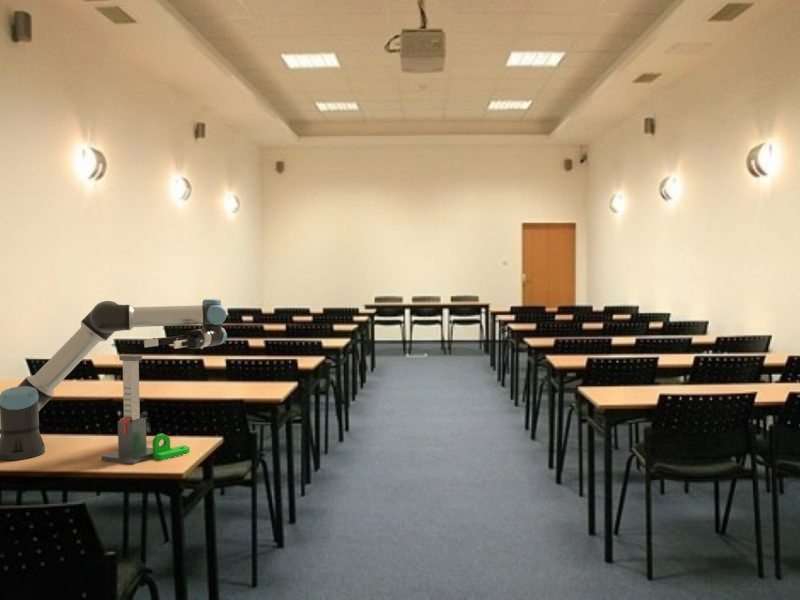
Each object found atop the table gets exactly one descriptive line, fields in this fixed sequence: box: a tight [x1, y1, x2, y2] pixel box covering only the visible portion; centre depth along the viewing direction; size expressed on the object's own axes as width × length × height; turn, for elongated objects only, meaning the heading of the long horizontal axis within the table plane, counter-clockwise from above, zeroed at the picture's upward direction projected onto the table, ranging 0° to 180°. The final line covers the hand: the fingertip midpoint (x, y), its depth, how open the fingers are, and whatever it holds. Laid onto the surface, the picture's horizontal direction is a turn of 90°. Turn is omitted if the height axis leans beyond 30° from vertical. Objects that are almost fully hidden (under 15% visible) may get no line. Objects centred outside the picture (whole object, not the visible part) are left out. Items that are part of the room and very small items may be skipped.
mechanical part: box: [152, 433, 191, 461], centre depth 222 cm, size 12×6×8 cm, turn 139°
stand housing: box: [100, 417, 153, 465], centre depth 220 cm, size 14×14×14 cm
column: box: [118, 354, 143, 422], centre depth 219 cm, size 7×4×28 cm, turn 70°
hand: (159, 344), depth 232 cm, fingers open, 13 cm apart
